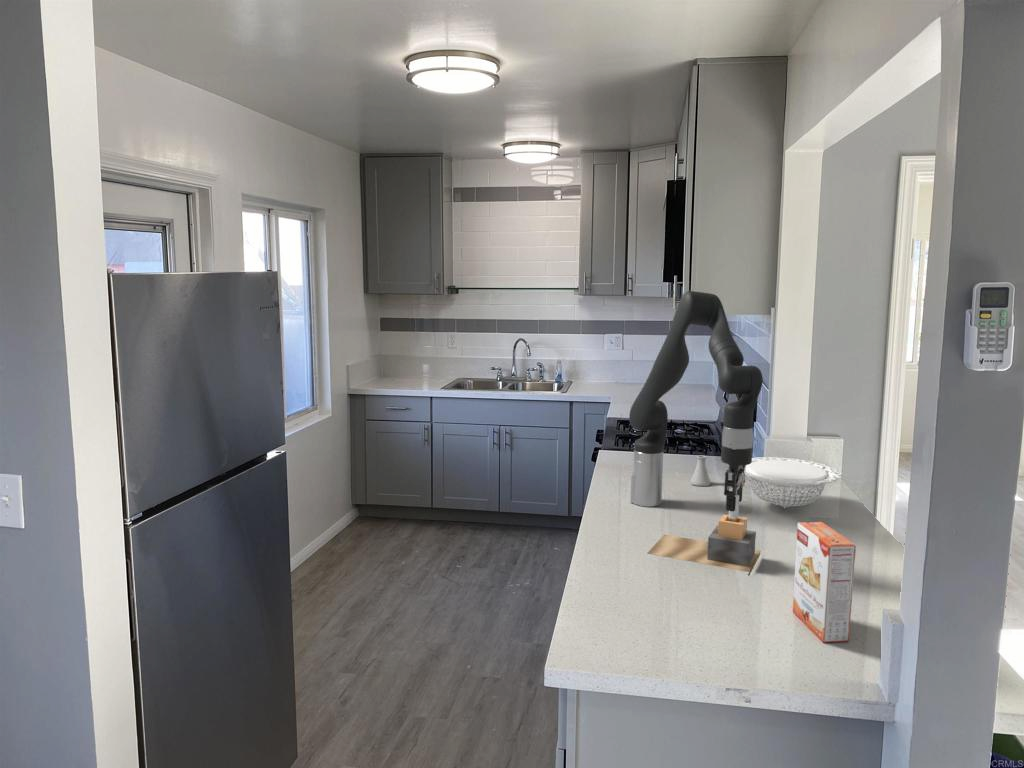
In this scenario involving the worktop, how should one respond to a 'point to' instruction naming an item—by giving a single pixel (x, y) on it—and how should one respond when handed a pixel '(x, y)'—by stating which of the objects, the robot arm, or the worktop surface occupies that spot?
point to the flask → (700, 473)
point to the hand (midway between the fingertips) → (733, 505)
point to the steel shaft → (734, 512)
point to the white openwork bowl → (788, 479)
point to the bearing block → (711, 550)
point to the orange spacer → (732, 528)
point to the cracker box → (824, 581)
